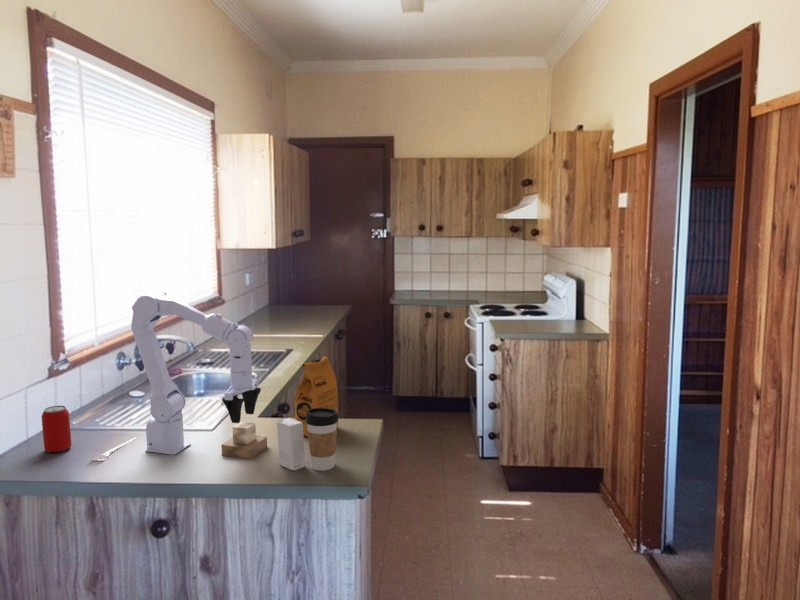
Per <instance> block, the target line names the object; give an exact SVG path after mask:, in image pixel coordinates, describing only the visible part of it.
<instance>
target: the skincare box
mask: <svg viewBox="0 0 800 600" xmlns="http://www.w3.org/2000/svg"><path fill="white" fill-rule="evenodd" d="M276 429H277V431H276V432H277V443H278V455H279V456H278V457H279V458H278V459H279V465H280V466H282V467H284V468H287V469H288V470H291V471H293V472H294V471H297V470H300V469H302V468H305V467H306V455H305V453H306V452H305V438H304V437H305V436H304V435H303V423H302V422H299V421H296V420H295V419H294V418H290V417H288V418H284V419H281V420H278V421H276Z"/></svg>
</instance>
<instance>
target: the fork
mask: <svg viewBox="0 0 800 600" xmlns="http://www.w3.org/2000/svg"><path fill="white" fill-rule="evenodd" d="M136 438H137V437H134V438H132V439H130V440H128V441H126V442H124V443H122V444H119V445H118V446H115V447H114V448H111V449H109V450H108V451H106V452H104V453H102V454H101V455H105V456H109V455H110V456H111V454H113V453H115V452H116V450H117V449H119V448H120V447H122V446H123V445H125V444H127V443H128V444H130V443H131V441H132V442H133V441H135V440H137V439H136ZM134 439H135V440H134ZM129 442H130V443H129ZM128 444H127V445H128ZM125 446H126V445H125ZM122 448H123V447H122ZM120 449H121V448H120ZM120 449H119V450H120ZM114 451H115V452H114ZM117 451H118V450H117ZM112 452H113V453H112ZM87 460H89V461H99V462H101V461H102V462H104V461H105V460H104V459H102V460H101V459H95V458H87ZM103 460H104V461H103Z"/></svg>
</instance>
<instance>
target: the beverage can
mask: <svg viewBox="0 0 800 600" xmlns="http://www.w3.org/2000/svg"><path fill="white" fill-rule="evenodd" d="M41 425H42V426H41V427H42V437H43V438H42V439H43V447H44V451H46V452H48V453H50V452H59V453H61V452H60V451H63V452H65V451H64V450H66V449H67V450H68V449H70V448H71V446H72V433H71V419H70V412H69V410H68V409H67V407H66V406H65V405H53V406H48V407H45V408H44V409H43V412H42V414H41ZM67 450H66V451H67Z"/></svg>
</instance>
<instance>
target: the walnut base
mask: <svg viewBox="0 0 800 600" xmlns="http://www.w3.org/2000/svg"><path fill="white" fill-rule="evenodd" d="M266 448H268V437H267V436H263V435H256V439H255V440H253V441H252V442H251V443H249V444H240V443H233V437H230V439H228V440H227V441H225V442H223V443H222V444H221V456H224V457H234V458H240V457H242V458H243V459H249V458H251V460H252V459H253V458H255V457H256V456H257V455H258V453H259V452H260V453H261V452H262V451H264V450H265V449H266ZM260 453H259V454H260ZM254 456H255V457H254Z"/></svg>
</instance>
